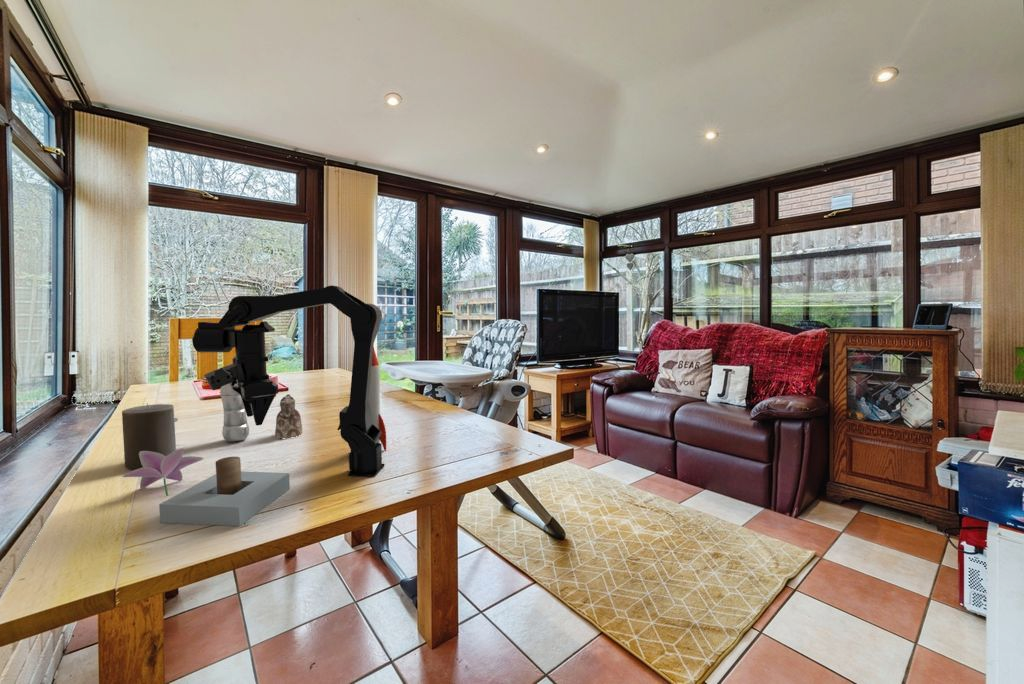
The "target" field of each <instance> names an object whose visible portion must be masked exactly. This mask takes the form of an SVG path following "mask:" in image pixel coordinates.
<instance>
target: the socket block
mask: <svg viewBox="0 0 1024 684" xmlns="http://www.w3.org/2000/svg"><path fill="white" fill-rule="evenodd" d="M241 481H242V490H240V491H238V492H237V493H235V494H234V495H223V494H217V478H216V473H215V474H213V475H211V476H210V477H208V478H205V479H204V480H202V481H200V482H198V483H197V484H194V485H193V486H191V487H189V488H187V489H185V490H183V491H182V492H180V493H178V494H176V495H174V496H172V497H170V498H168V499H167V500H165V501H163V502H161V503H159V504H158V506H159V507H158V508H159V517H160V518H159V519H160V521H159V523H161V524H182V525H206V526H227V527H241V526H242V525H243V524H245V523H246V522H247V521H249V520H250V519H252V518H253V517H254V516H255V515H257V514H258V513H259V512H261V511H262V510H264V509H265V508H266V507H267V506H269V505H271V504H272V503H273V502H274V501H276V500H277V499H278V498H279V496H280V495H281V496H283V493H284V492H285V493H286V492H287V490H288V489H289V488H290V489H291V484H290V473H289V472H274V471H273V472H272V471H271V472H269V471H267V472H265V471H244V470H243V471H242V470H241ZM290 489H289V490H290ZM289 490H288V491H289ZM285 493H284V494H285ZM281 496H280V497H281ZM276 498H277V499H276ZM275 499H276V500H275ZM271 502H272V503H271Z"/></svg>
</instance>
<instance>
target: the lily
mask: <svg viewBox="0 0 1024 684" xmlns="http://www.w3.org/2000/svg"><path fill="white" fill-rule="evenodd" d="M184 451H185V450H184V448H178V449H176V451H174V452H172V453H170V454H169V455H167V456H164V455H163V454H160V453H156V452H151V451H140V452H139V457H140V461H141V464H142V466H143V468H139V469H135V470H132V471H129V472H127V473H125V474H124V475H122V477H123V478H138V477H139V478H141V479H140V483H139V487H140V489H144V488H147V487H149V486H150V485H153V483H155V482H158V481H160V480H162V479H163V485H164V491H165V496H166V497H167V496H169V492H168V487H167V482H166V481H167V480H173V481H178V482H181V481H180V480H182V481H183V473H182V471H181V470H182V469H184V468H186V467H188V466H191V465H193V464H195V463H197V462H200V461H202V460H204V457H201V456H190V455H188V456H183V454H184Z"/></svg>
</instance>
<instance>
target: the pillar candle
mask: <svg viewBox="0 0 1024 684" xmlns="http://www.w3.org/2000/svg"><path fill="white" fill-rule="evenodd" d="M121 418H122V419H121V422H122V434H123V435H122V436H123V439H122V440H123V451H124V452H123V454H124V455H123V457H124V467H125V468H126V469H127V468H128V469H127V470H132V469H134V470H136V469H139V468H143V466H142V464H141V461H140V457H139V452H140V451H151V452H156V453H160V454H163V455H164V456H167V455H169V454H170V453H172V452H174V451H176V450H177V445H176V441H177V440H176V425H175V407H174V405H173V404H169V403H168V404H167V403H166V404H164V403H163V404H162V403H161V404H148V402H146V405H138V406H133V407H130V408H126V409H123V410H121ZM134 470H133V471H134Z"/></svg>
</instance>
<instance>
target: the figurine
mask: <svg viewBox="0 0 1024 684" xmlns="http://www.w3.org/2000/svg"><path fill="white" fill-rule="evenodd" d="M279 406H280V407H279V408H280V410H279V412H278V413H277V415H276V419H275V431H274V434H275V438H277V437H278V438H277V439H280V438H290V439H292V438H291V437H295V438H297V437H296V436H298V437H300V436H302V435H303V424H302V418H301V414H300V412H299V410H297V409H296V408H295V407H296V400H295V398H294V397H292V395H291V394H286V395H285V396H283V397H282V398H281V400H280V401H279ZM301 434H302V435H301ZM299 435H300V436H299Z"/></svg>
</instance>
